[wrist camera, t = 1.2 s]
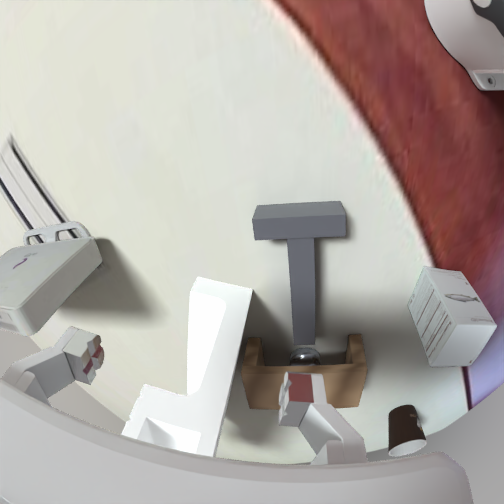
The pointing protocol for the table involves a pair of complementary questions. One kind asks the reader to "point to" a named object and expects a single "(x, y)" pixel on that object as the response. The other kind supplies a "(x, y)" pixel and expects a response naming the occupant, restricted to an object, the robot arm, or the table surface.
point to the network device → (43, 276)
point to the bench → (335, 376)
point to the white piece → (197, 375)
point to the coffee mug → (405, 431)
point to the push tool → (300, 251)
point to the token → (305, 357)
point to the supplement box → (449, 318)
